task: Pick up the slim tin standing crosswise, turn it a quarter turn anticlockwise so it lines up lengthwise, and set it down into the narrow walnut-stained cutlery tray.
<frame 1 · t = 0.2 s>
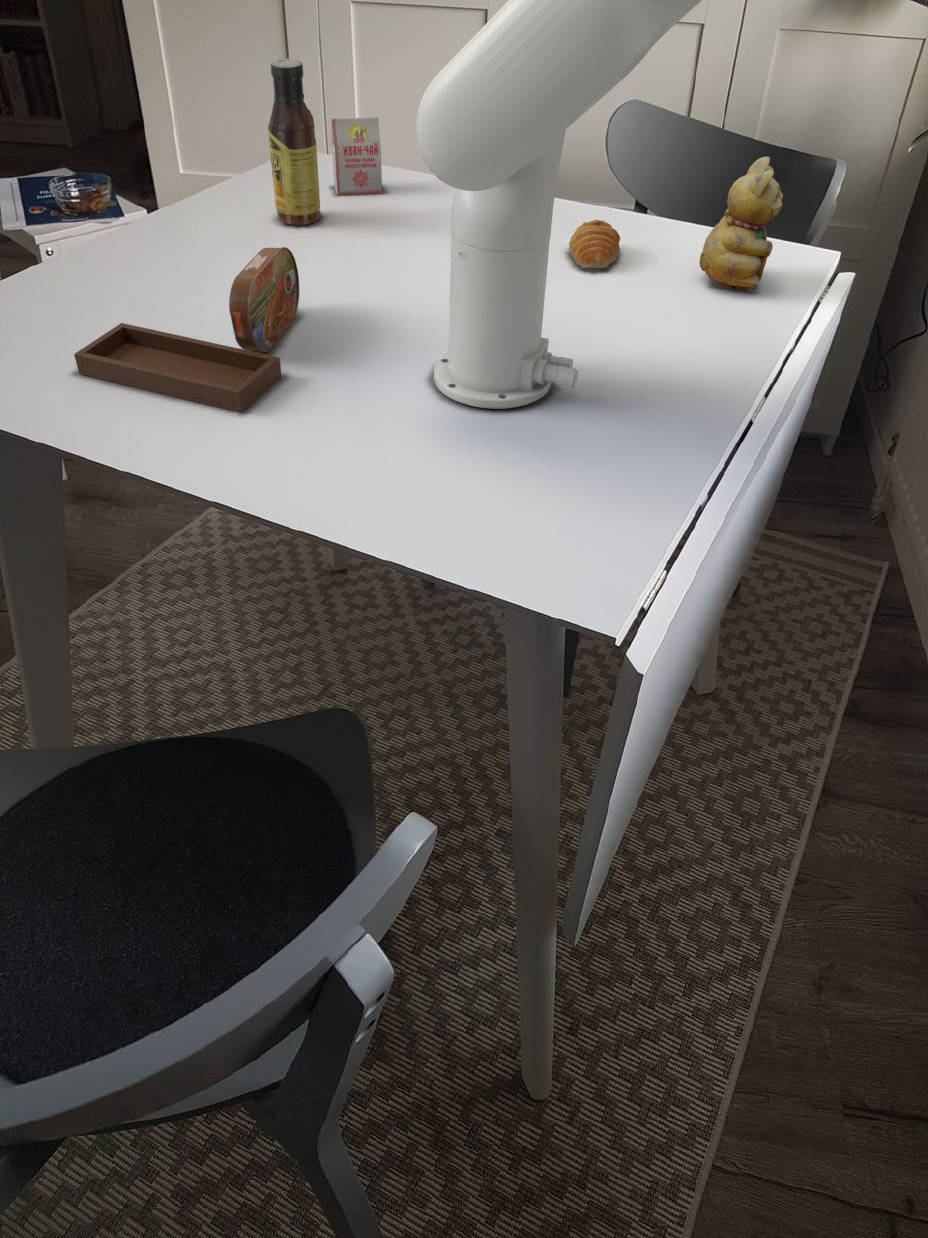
pastry: (594, 258, 128), on the table
tray: (180, 375, 101), on the table
decorative figurine: (727, 284, 123), on the table
sauce bottle: (299, 221, 135), on the table
tin: (269, 335, 109), on the table
tea box: (358, 191, 145), on the table
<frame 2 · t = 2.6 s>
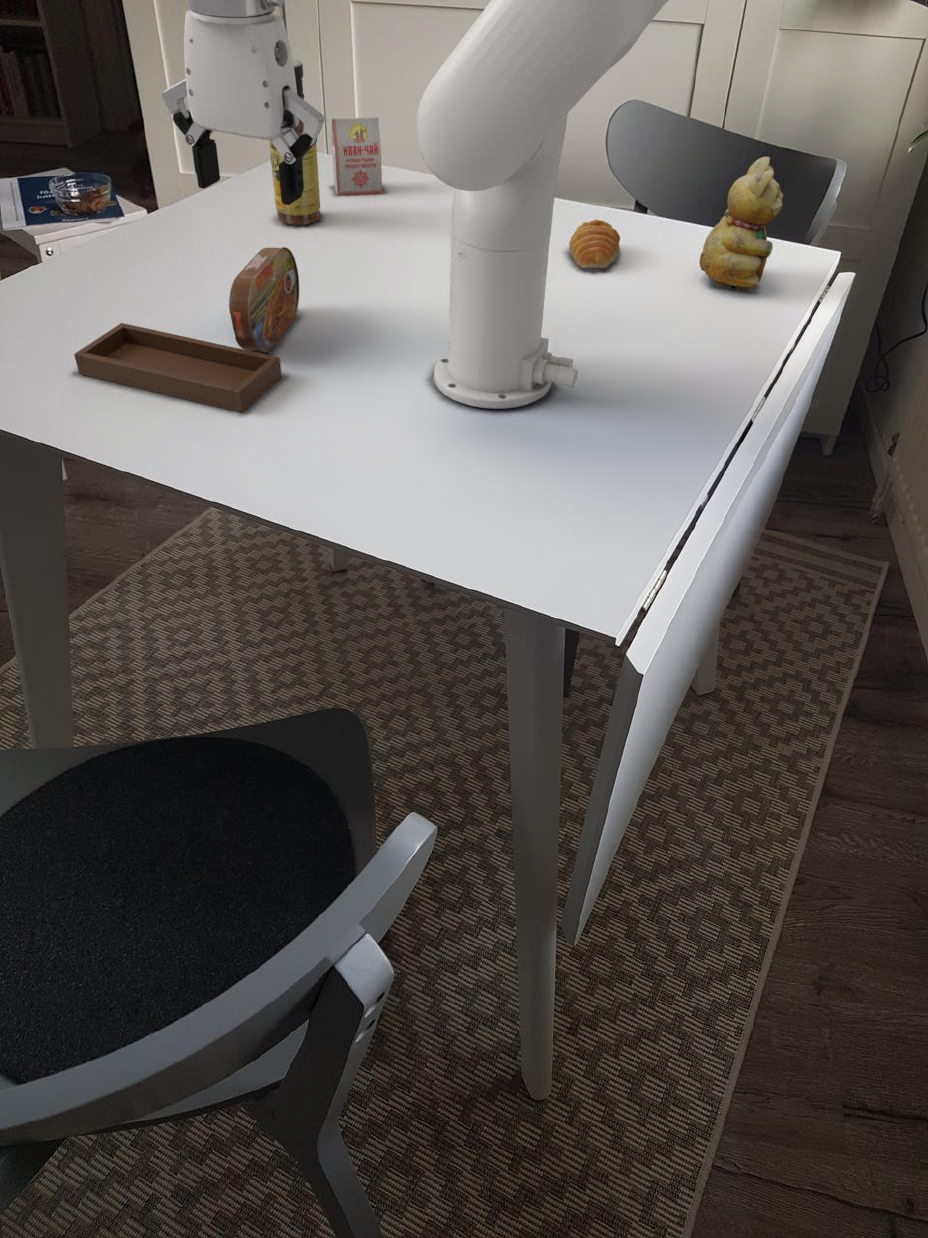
hand: (250, 192, 98), 15 cm above the table, tool pointing down, fingers open, 9 cm apart
nothing on the table moved.
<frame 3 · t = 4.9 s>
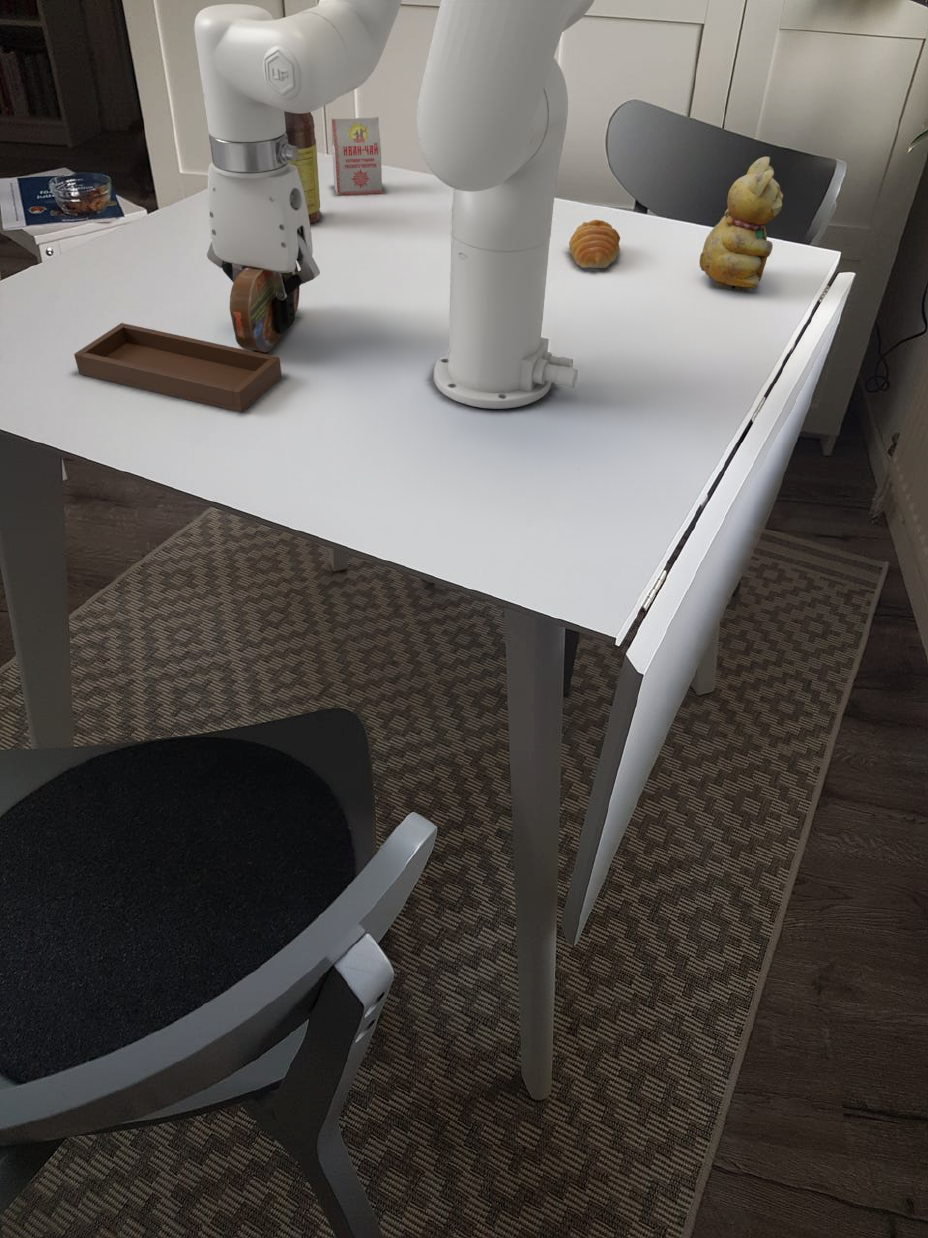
hand: (269, 323, 108), 1 cm above the table, tool pointing down, fingers closed on tin, 3 cm apart
tin: (269, 335, 109), on the table, touching gripper
everything else where it was.
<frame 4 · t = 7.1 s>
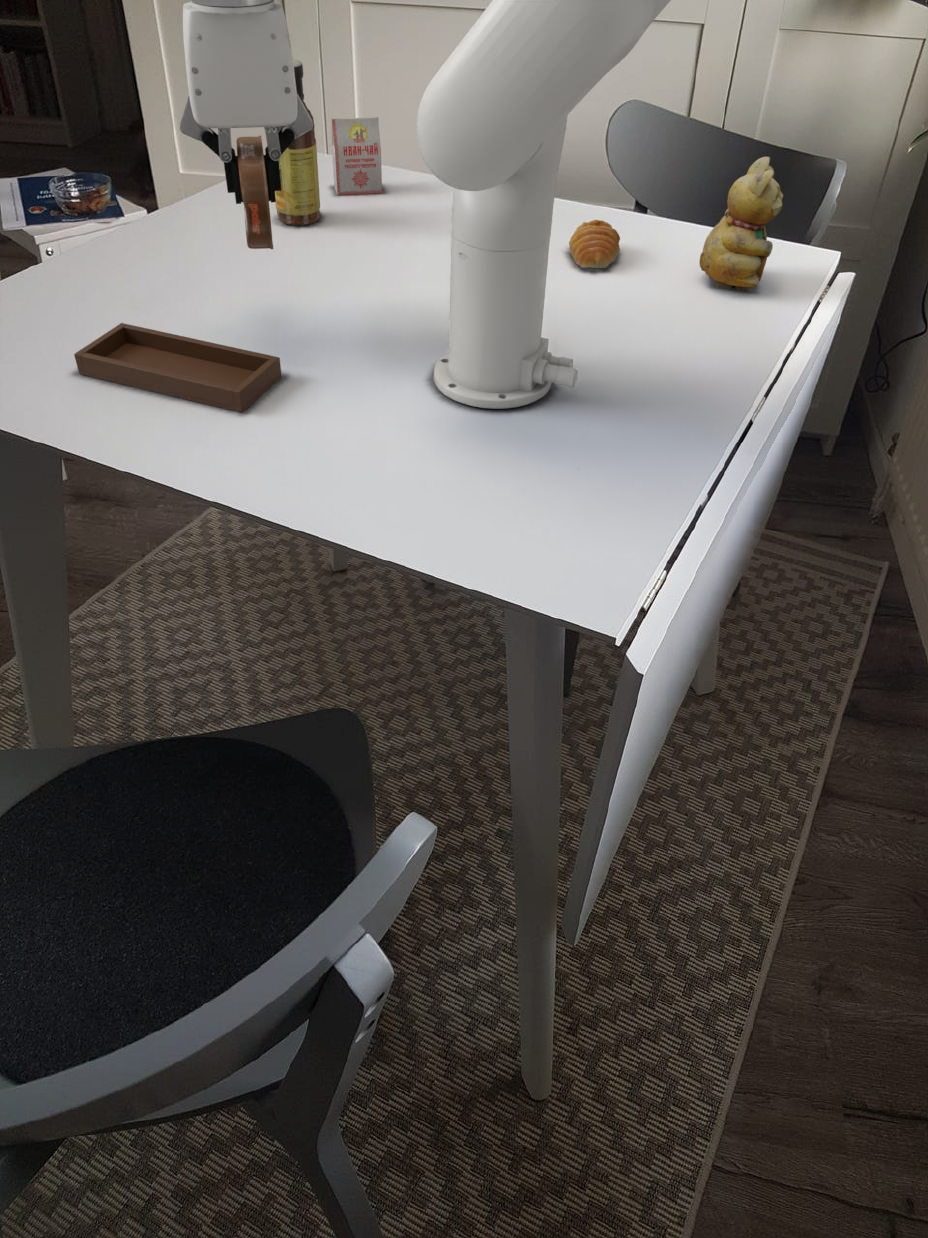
hand: (255, 196, 99), 15 cm above the table, tool pointing down, fingers closed on tin, 2 cm apart
tin: (256, 234, 101), point 11 cm above the table, touching gripper
everything else where it was.
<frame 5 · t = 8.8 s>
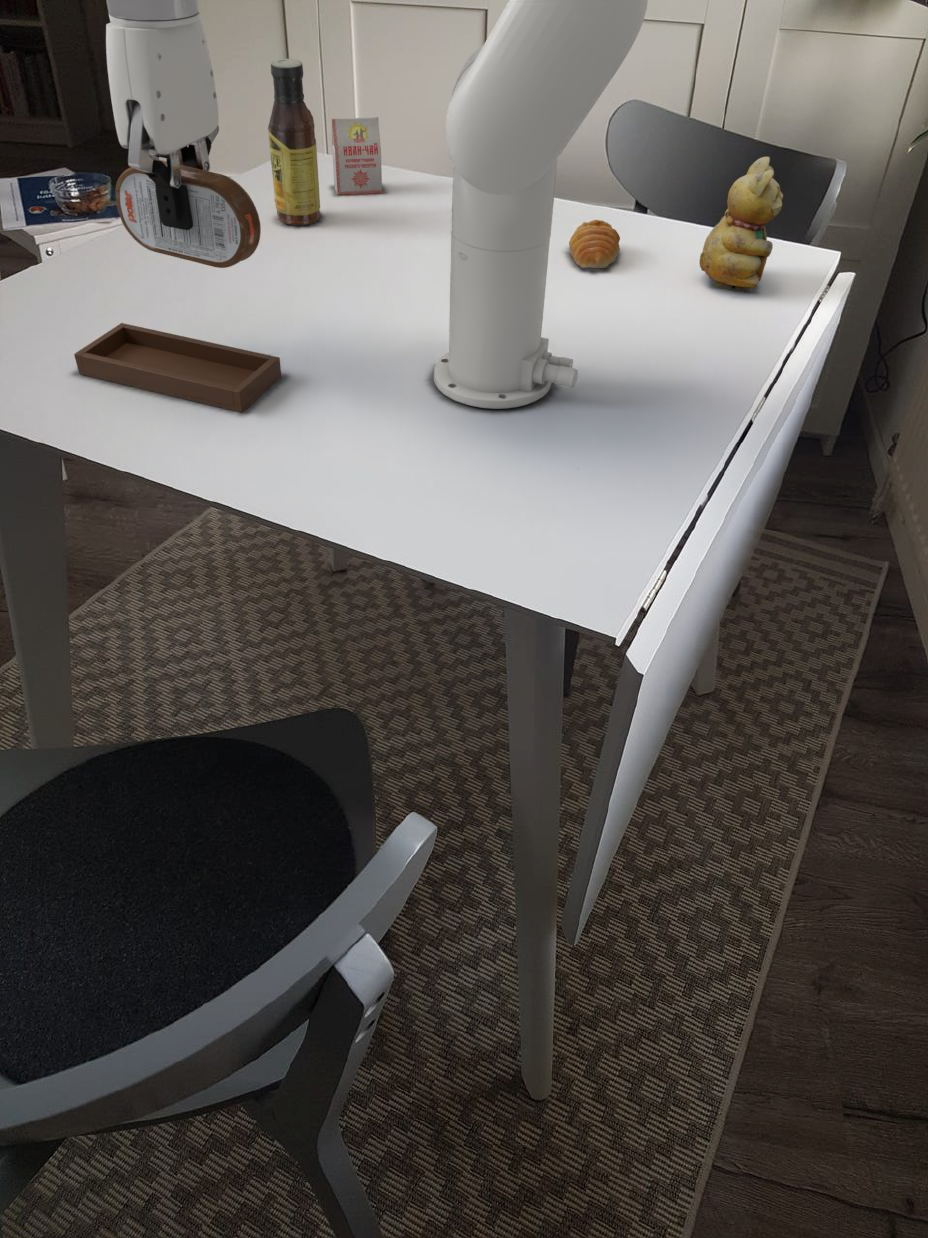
hand: (187, 219, 93), 15 cm above the table, tool pointing down, fingers closed on tin, 2 cm apart
tin: (189, 259, 96), point 11 cm above the table, touching gripper
everything else where it was.
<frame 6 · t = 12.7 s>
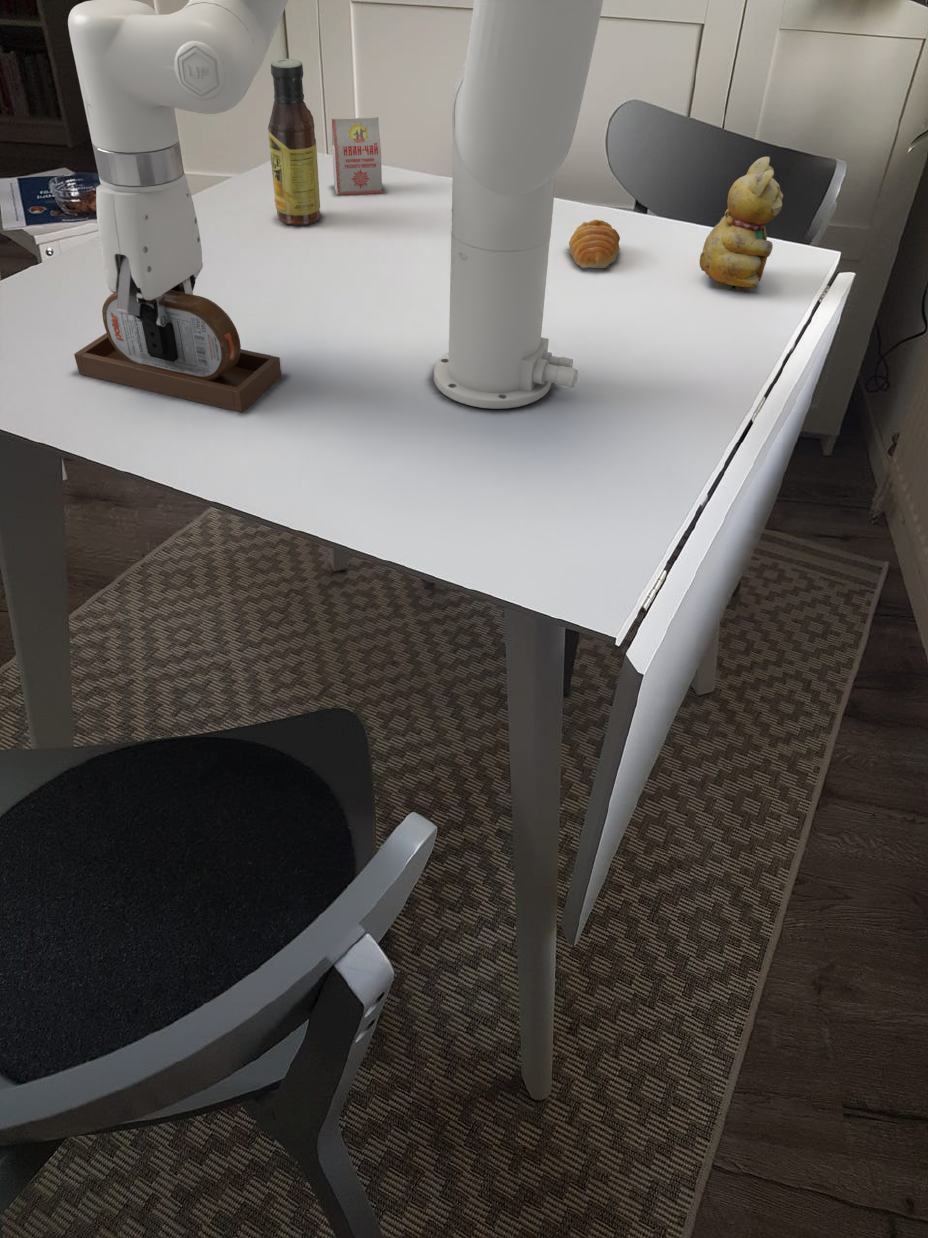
hand: (173, 349, 99), 3 cm above the table, tool pointing down, fingers closed on tin, 2 cm apart
tin: (175, 373, 100), resting on tray, touching gripper
everything else where it was.
when the fingers open (3 cm above the table, at t = 12.7 s): tin stays where it is, resting on tray.
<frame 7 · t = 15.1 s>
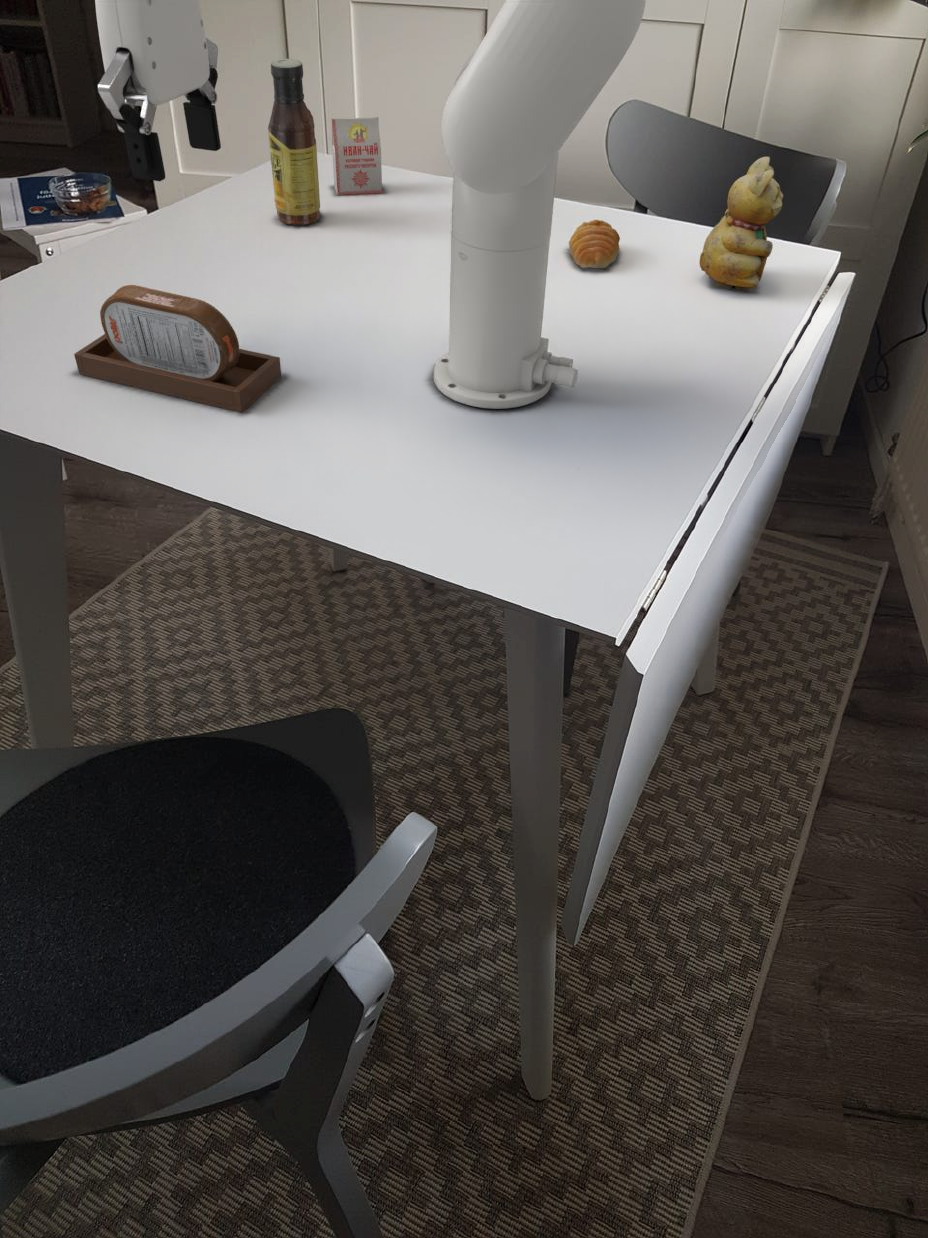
hand: (178, 162, 91), 20 cm above the table, tool pointing down, fingers open, 9 cm apart
tin: (175, 374, 100), resting on tray
everything else where it was.
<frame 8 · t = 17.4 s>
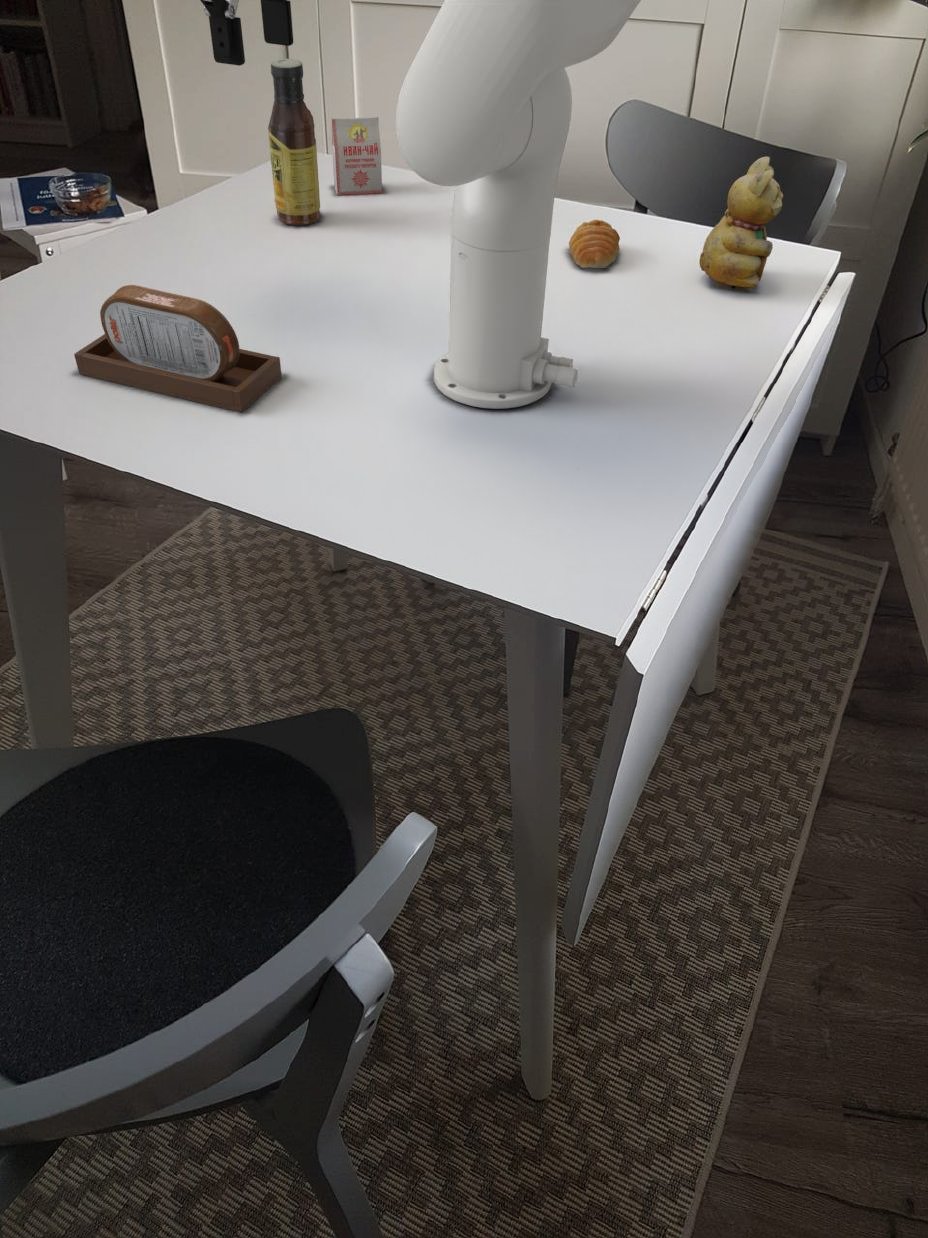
hand: (255, 53, 97), 26 cm above the table, tool pointing down, fingers open, 9 cm apart
nothing on the table moved.
at the end: tin 0.5 cm off-centre in the tray, point 0.3 cm above the tray's base; tin tilted 0°; the gripper is holding nothing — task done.
